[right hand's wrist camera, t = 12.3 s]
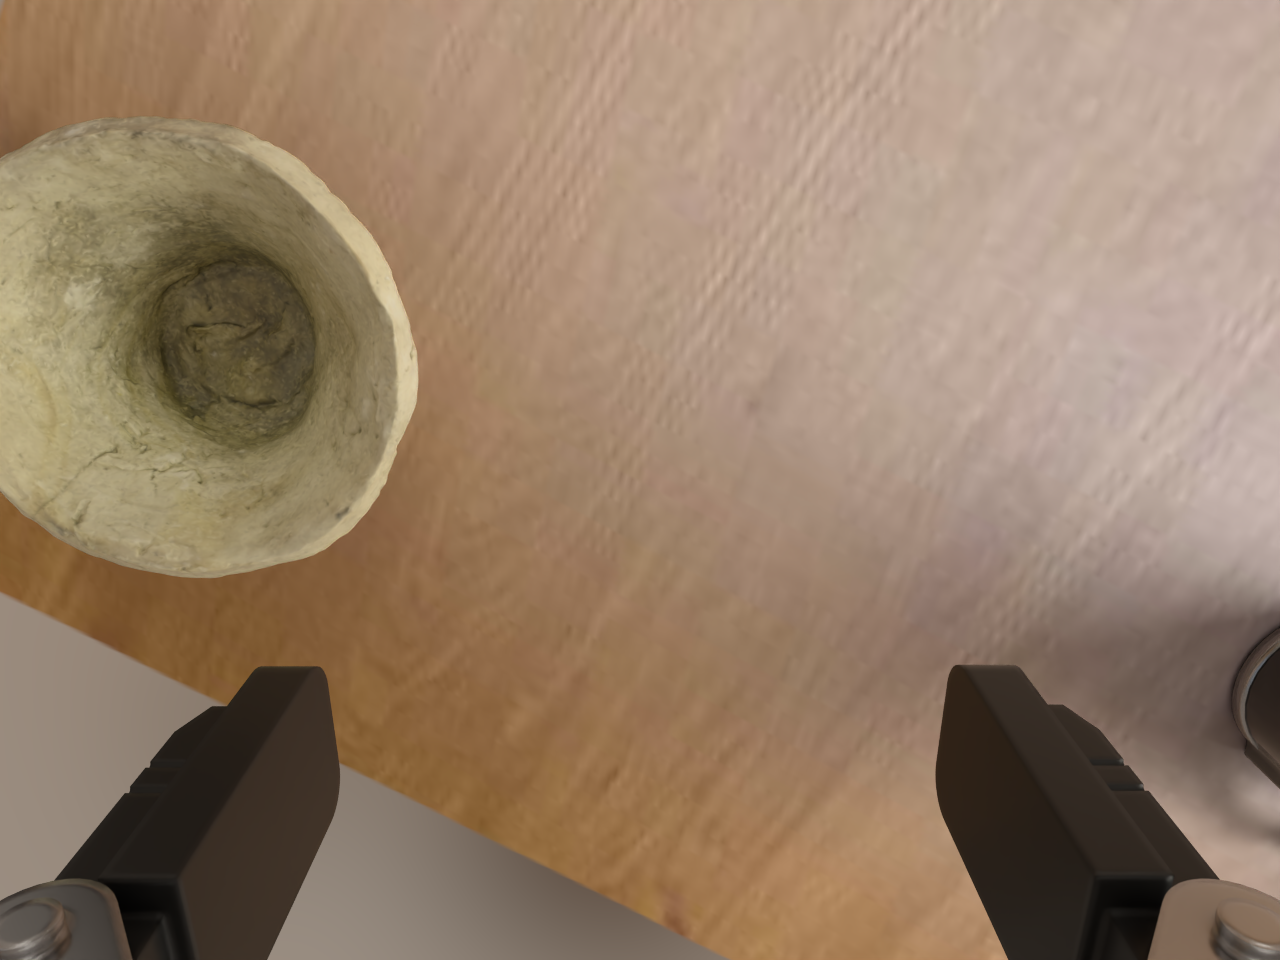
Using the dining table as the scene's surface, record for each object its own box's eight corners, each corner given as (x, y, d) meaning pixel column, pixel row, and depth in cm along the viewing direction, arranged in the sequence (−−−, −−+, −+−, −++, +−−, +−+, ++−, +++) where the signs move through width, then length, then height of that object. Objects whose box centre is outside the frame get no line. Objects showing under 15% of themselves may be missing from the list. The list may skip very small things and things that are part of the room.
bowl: (179, 409, 46) (-143, 242, 34) (456, 230, 42) (195, -32, 30) (178, 650, 39) (-230, 543, 27) (513, 466, 35) (199, 242, 23)
